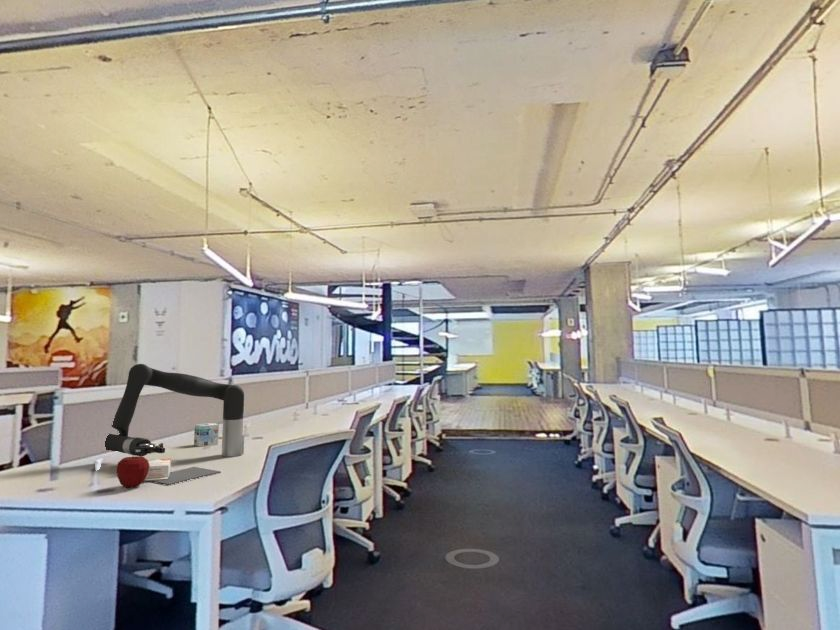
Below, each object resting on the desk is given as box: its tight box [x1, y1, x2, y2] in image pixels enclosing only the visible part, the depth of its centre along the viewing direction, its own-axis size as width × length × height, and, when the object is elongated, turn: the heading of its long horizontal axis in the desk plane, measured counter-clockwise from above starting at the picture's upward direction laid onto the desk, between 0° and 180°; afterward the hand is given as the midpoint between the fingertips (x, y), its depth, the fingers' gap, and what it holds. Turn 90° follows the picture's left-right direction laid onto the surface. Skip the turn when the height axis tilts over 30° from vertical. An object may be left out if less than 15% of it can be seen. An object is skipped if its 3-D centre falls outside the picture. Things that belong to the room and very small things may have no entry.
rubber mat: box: [147, 466, 222, 486], centre depth 212 cm, size 24×16×1 cm, turn 152°
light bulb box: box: [193, 422, 220, 447], centre depth 281 cm, size 11×7×11 cm, turn 137°
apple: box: [115, 455, 150, 489], centre depth 196 cm, size 11×11×12 cm
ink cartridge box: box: [144, 458, 172, 482], centre depth 210 cm, size 9×5×15 cm
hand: (163, 450), depth 219 cm, fingers closed
